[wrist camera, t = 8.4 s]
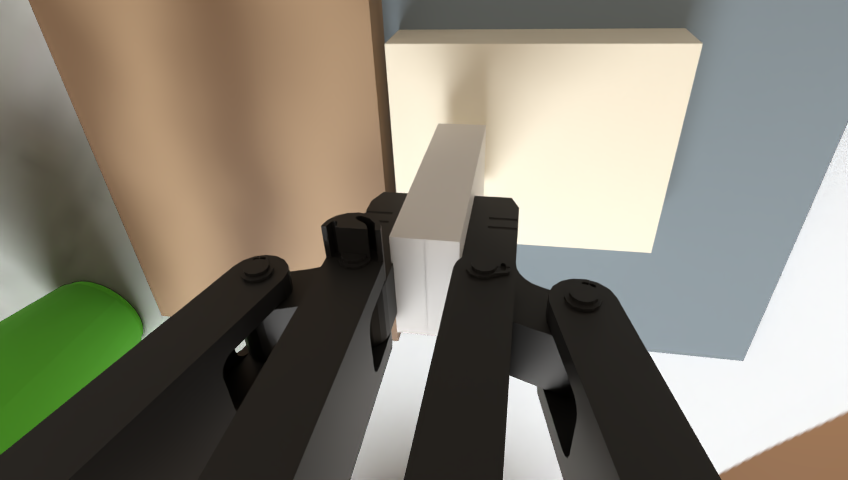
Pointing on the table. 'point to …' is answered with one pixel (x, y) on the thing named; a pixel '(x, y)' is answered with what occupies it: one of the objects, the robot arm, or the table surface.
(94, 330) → the cup
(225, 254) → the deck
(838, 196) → the table surface
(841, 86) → the mat
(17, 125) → the table surface
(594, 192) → the tile
